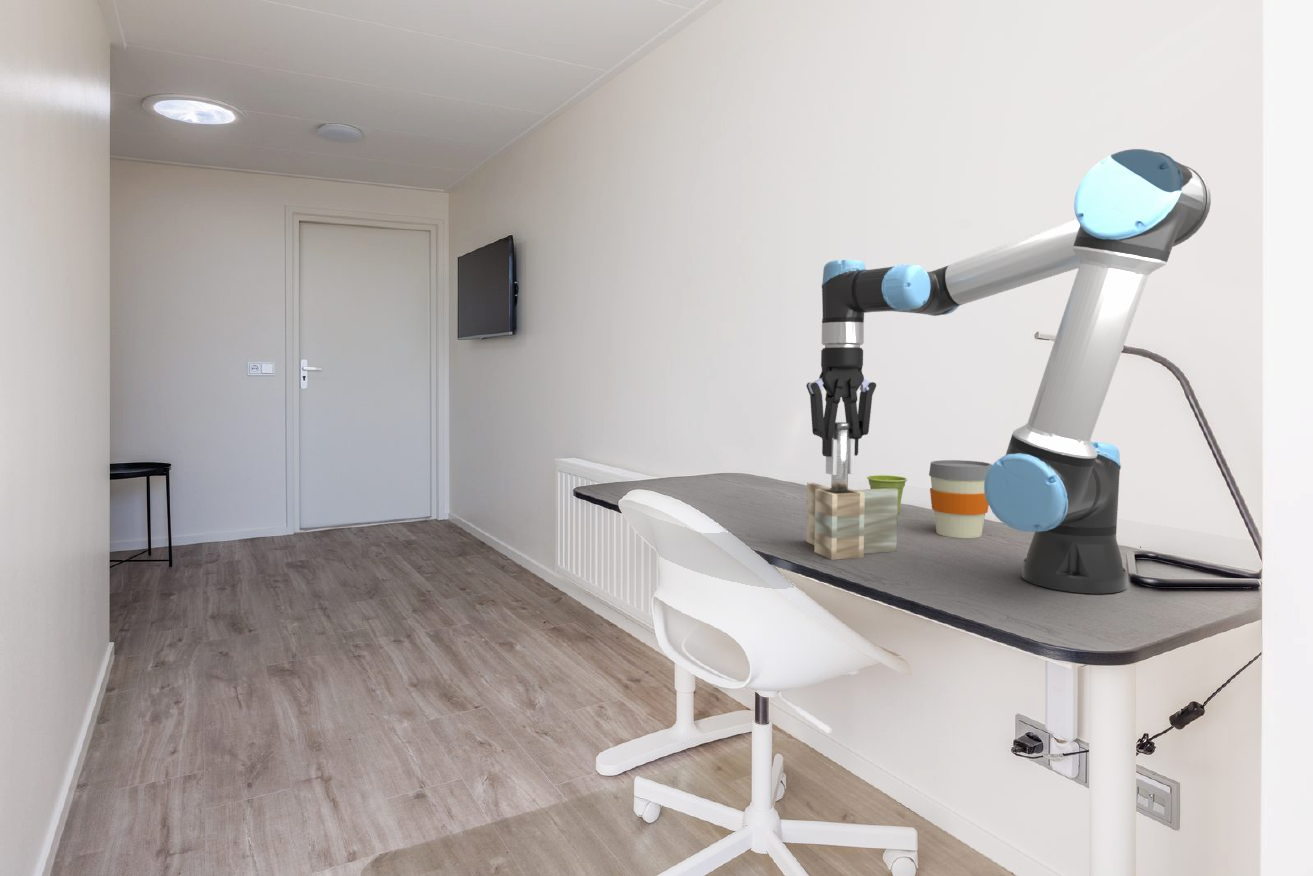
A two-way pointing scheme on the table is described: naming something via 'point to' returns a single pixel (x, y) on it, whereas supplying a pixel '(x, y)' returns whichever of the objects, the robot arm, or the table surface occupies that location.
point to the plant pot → (888, 484)
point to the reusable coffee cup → (959, 497)
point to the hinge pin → (841, 458)
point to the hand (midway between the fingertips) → (839, 473)
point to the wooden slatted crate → (851, 521)
